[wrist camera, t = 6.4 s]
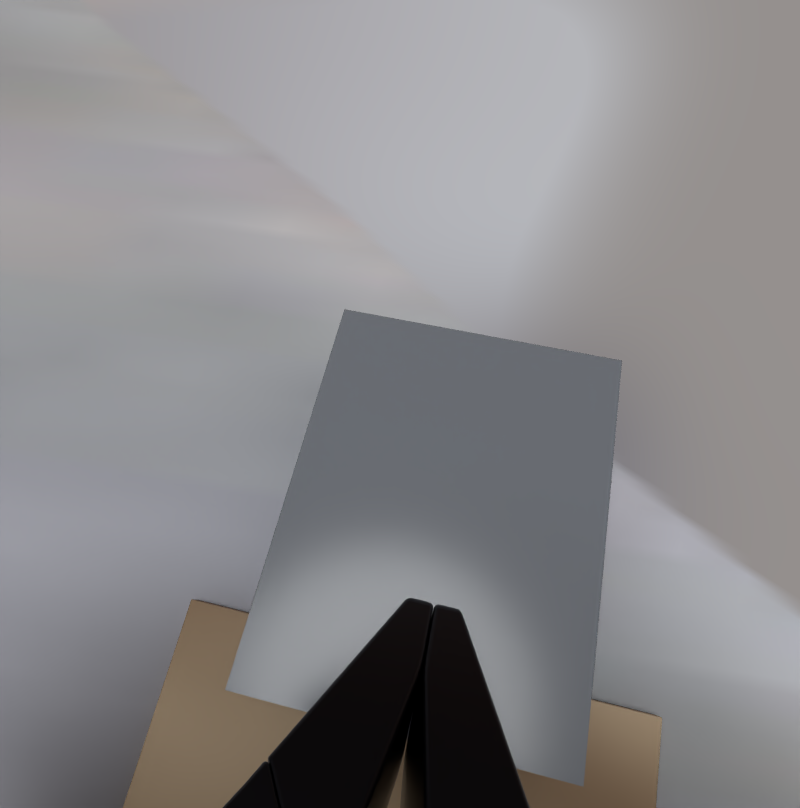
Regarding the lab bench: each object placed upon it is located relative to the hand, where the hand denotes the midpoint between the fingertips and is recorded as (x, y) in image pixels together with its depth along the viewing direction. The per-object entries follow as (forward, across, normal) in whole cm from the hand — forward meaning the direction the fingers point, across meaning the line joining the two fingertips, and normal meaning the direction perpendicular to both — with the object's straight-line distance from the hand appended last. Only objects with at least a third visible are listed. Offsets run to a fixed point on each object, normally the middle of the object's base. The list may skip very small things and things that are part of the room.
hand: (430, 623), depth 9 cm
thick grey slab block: (+2, 0, +5) cm, 5 cm away
